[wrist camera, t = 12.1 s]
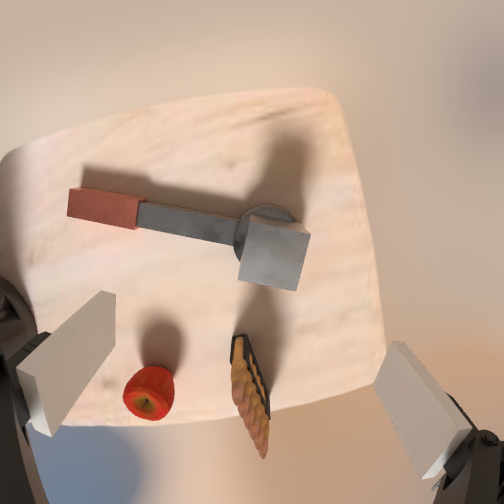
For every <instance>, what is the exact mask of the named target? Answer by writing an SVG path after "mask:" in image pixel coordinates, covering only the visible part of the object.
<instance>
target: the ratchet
mask: <svg viewBox="0 0 504 504" xmlns="http://www.w3.org/2000/svg"><path fill="white" fill-rule="evenodd" d="M146 199H147V198H142V197H136V196H131V195H125V194H119V193H113V192H107V191H101V190H95V189H88V188H82V187H79V188H71V189H70V190H69V199H68V210H67V216H68V217H73V218H78V219H83V220H88V221H93V222H98V223H103V224H108V225H113V226H118V227H123V228H128V229H132V230H135V229H137V228H139V227H141V228H146V229H151V230H156V231H161V232H166V233H171V234H176V235H181V236H186V237H191V238H196V239H201V240H206V241H211V242H216V243H221V244H226V245H231V246H233V247H234V251H235V254H236V256H237V258H238V260H239V261H241V256H242V252H243V247H244V242H245V237H246V232H247V228H248V223H249V218H250V213H255V214H260V215H265V216H270V217H274V218H279V219H284V220H288V221H293V222H297V221H296V220H295V219H294V218H293V217H292V216H291V215H290V214H289V213H288V212H287V211H286V210H284V209H283V208H281V207H279V206H276V205H270V204H264V205H258V206H255V207H253V208H251V209H249V210H248V211H247V212H245V213H244V214H243V215H242V217H241V218H240V219H239V218H234V217H229V216H224V215H219V214H214V213H209V212H203V211H198V210H193V209H188V208H182V207H177V206H172V205H166V204H161V203H155V202H150V201H146Z"/></svg>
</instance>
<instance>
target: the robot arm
mask: <svg viewBox="0 0 504 504" xmlns="http://www.w3.org/2000/svg"><path fill="white" fill-rule="evenodd" d="M115 306H116V294H113V293H109V292H105V291H100V292H99V293H98V294H97V295H95V296H94V297H93V298H92V299H91V300H89V301H88V302H87V303H86V304H85V305H84V306H83V307H81V308H80V309H79V310H78V311H77V312H76V313H75V314H73V315H72V316H71V317H70V318H69V319H68V320H67V321H65V322H64V323H63V324H62V325H61V326H60V327H59V328H58V329H57V330H55V331H54V332H53V333H52V334H51V333H48V332H46V331H45V332H43V333H40V334H38V335H37V331H36V326H35V323H34V320H33V317H32V315H31V312H30V310H29V308H28V306H27V304H26V303H25V301H24V299H23V298H22V296H21V295H20V294H19V292H18V291H17V290H16V289H15V288H14V287H13V286H12V285H11V284H10V283H9V282H8V281H6V280H5V279H3V278H1V277H0V504H49V502H48V500H47V497H46V494H45V491H44V488H43V485H42V482H41V479H40V476H39V473H38V470H37V466H36V463H35V460H34V456H33V452H32V448H31V444H30V440H29V436H28V431H27V428H26V426H25V424H26V423H27V422H28V420H29V419H30V418H31V421H32V424H33V427H34V429H35V430H37V431H40V432H41V433H43V434H46V435H48V436H50V437H53V435H54V434H55V432H56V430H57V429H58V427H59V426H60V424H61V423H62V421H63V420H64V418H65V417H66V415H67V414H68V412H69V411H70V409H71V408H72V406H73V405H74V403H75V402H76V400H77V399H78V397H79V396H80V395H81V393H82V392H83V390H84V389H85V387H86V386H87V384H88V383H89V382H90V380H91V379H92V377H93V376H94V374H95V373H96V372H97V370H98V369H99V367H100V366H101V364H102V363H103V362H104V360H105V359H106V358H107V356H108V355H109V353H110V352H111V351H112V349H113V348H114V346H115ZM372 386H373V388H374V389H375V391H376V393H377V395H378V397H379V399H380V401H381V403H382V404H383V407H384V408H385V410H386V412H387V414H388V416H389V418H390V420H391V422H392V424H393V426H394V428H395V429H396V431H397V434H398V435H399V437H400V439H401V441H402V443H403V445H404V447H405V449H406V451H407V453H408V455H409V457H410V460H411V461H412V463H413V466H414V468H415V470H416V471H417V474H418V476H419V478H420V480H422V479H426V478H431V477H435V476H436V475H437V473H438V472H439V471H440V470H441V469H442V468H443V467H444V469H445V471H446V473H445V474H444V475H443V476H442V477H441V479H440V480H439V481H438V482H437V483H436V484H435V485H434V487H433V488H432V490H434V489H435V488H436V487H438V486H439V488H438V490H437V494H436V497H435V500H434V503H433V504H504V441H500V440H499V438H498V437H497V436H496V435H495V434H494V433H492V432H490V431H488V430H480V431H479V430H478V429H477V428H476V426H475V425H474V424H473V422H472V421H471V420H470V418H469V417H468V416H467V415H466V413H465V412H463V409H462V408H461V407H459V404H458V403H457V402H456V401H455V399H454V398H453V397H452V396H450V395H449V394H448V393H446V392H445V391H444V390H443V389H442V388H441V386H440V385H439V384H438V383H437V381H436V380H435V379H434V377H433V376H432V375H431V374H430V373H429V372H428V370H427V369H426V368H425V366H424V365H423V364H422V363H421V362H420V360H419V359H418V358H417V357H416V355H415V354H414V353H413V352H412V351H411V350H410V348H409V347H408V346H407V345H406V344H405V342H399V341H392V342H391V344H390V347H389V349H388V351H387V354H386V356H385V359H384V361H383V363H382V365H381V368H380V370H379V372H378V374H377V377H376V379H375V381H374V383H373V385H372Z"/></svg>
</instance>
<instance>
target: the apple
mask: <svg viewBox="0 0 504 504" xmlns="http://www.w3.org/2000/svg"><path fill="white" fill-rule="evenodd" d="M174 395H175V390H174V382H173V377H172V375H171V373H170V372H169V371H168V370H167V369H165V368H163V367H159V366H148V367H146V368H143V369H141V370H139V371H138V372H137V373H136V374H134V375H133V377H132V378H131V379H130V380H129V382H128V383H127V385H126V387H125V389H124V393H123V402H124V403H125V405H126V407H127V408H128V410H129V411H131V412H132V413H133V414H134V415H135V416H137V417H140V418H143V419H147V420H151V421H157V420H160V419H162V418H164V417H165V416H166V415H167V414H168V412H169V411H170V409H171V407H172V404H173V401H174Z"/></svg>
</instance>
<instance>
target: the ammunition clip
mask: <svg viewBox="0 0 504 504" xmlns="http://www.w3.org/2000/svg"><path fill="white" fill-rule="evenodd" d="M230 363H231V366H232V369H231V381H232V399H233V402H234V404H235V405H236V406H238V412H239V414H240V416H241V417H242V418H243V421H244V424H245V427H246V428H247V429H248V431H249V434H250V437H251V439H252V440H254V444H255V447H256V448H257V450H258V451H259V454H260V456H261V458H262V459H264V458H265V457H266V454H267V450H268V435H269V420H270V399H269V394H268V391H267V388H266V386H265V383H264V380H263V378H262V375H261V372H260V370H259V367H258V364H257V362H256V359H255V356H254V353H253V351H252V348H251V345H250V342H249V340H248V337H247V334H242V335H239V336H235V337H232V343H231V353H230Z"/></svg>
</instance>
